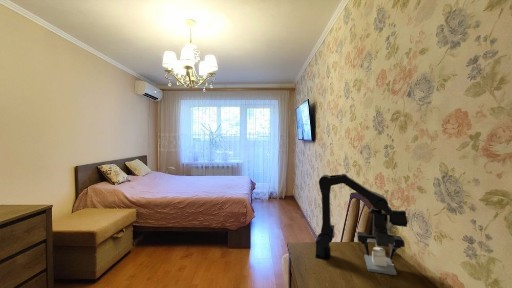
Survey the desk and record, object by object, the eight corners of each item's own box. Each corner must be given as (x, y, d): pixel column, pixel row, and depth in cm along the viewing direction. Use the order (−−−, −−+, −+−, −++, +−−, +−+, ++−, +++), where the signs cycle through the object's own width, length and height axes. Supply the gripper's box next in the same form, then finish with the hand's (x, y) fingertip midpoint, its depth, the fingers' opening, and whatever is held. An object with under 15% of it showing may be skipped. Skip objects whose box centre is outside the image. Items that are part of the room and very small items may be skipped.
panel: (368, 271, 107) (368, 260, 107) (364, 257, 120) (364, 247, 120) (397, 275, 104) (397, 264, 104) (390, 260, 117) (390, 250, 116)
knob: (374, 264, 110) (374, 251, 110) (372, 259, 115) (372, 246, 115) (386, 266, 109) (386, 252, 109) (383, 260, 114) (383, 247, 113)
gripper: (359, 227, 106) (359, 263, 107) (408, 232, 101) (407, 270, 101) (357, 219, 117) (356, 251, 118) (401, 223, 112) (400, 257, 112)
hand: (379, 257), depth 112 cm, fingers open, 9 cm apart
